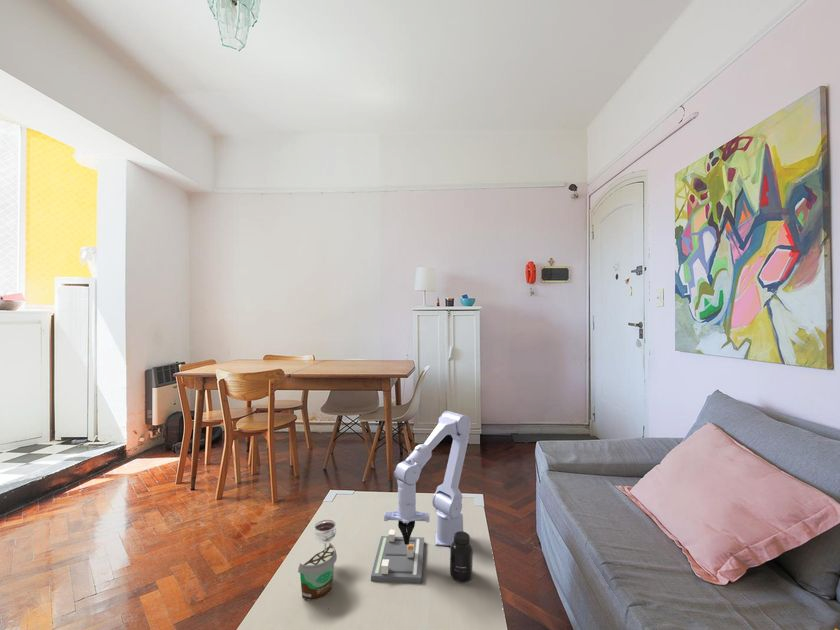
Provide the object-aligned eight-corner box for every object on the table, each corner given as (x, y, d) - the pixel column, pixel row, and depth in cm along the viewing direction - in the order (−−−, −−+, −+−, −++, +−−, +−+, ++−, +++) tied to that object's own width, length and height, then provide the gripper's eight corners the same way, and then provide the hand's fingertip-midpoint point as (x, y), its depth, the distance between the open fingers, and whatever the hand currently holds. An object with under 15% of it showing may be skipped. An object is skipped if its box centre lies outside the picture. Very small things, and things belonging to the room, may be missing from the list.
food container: (313, 610, 99) (313, 572, 99) (297, 601, 103) (297, 564, 103) (345, 582, 110) (345, 548, 110) (330, 574, 113) (330, 541, 113)
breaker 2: (395, 536, 130) (395, 529, 130) (394, 541, 127) (394, 534, 127) (389, 536, 130) (389, 529, 130) (388, 541, 127) (388, 534, 127)
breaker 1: (389, 567, 114) (389, 559, 114) (387, 574, 111) (387, 566, 111) (382, 567, 114) (382, 559, 114) (381, 573, 111) (381, 565, 111)
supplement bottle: (458, 586, 109) (458, 544, 109) (445, 571, 115) (445, 532, 115) (477, 578, 112) (477, 538, 112) (464, 564, 118) (464, 526, 118)
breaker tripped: (413, 551, 121) (413, 544, 121) (413, 557, 118) (413, 549, 118) (407, 551, 122) (407, 543, 122) (407, 557, 119) (407, 549, 119)
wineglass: (309, 567, 116) (309, 528, 116) (322, 554, 123) (322, 517, 123) (327, 572, 114) (328, 533, 114) (340, 559, 120) (340, 521, 120)
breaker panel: (424, 541, 130) (424, 537, 130) (421, 582, 110) (421, 577, 110) (381, 540, 131) (381, 535, 131) (370, 580, 111) (370, 575, 111)
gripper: (382, 506, 117) (382, 549, 117) (428, 507, 116) (429, 551, 116) (385, 495, 124) (385, 536, 124) (429, 496, 123) (429, 537, 123)
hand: (406, 542), depth 120 cm, fingers closed
